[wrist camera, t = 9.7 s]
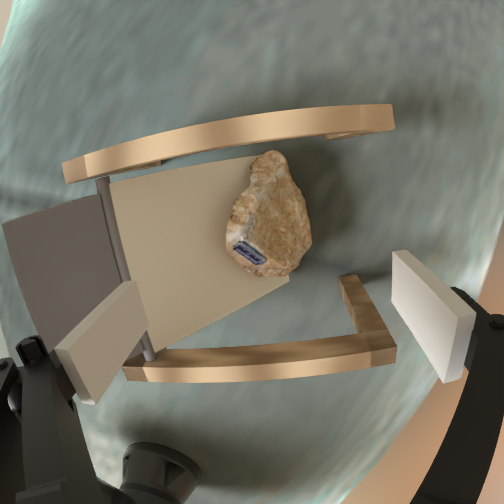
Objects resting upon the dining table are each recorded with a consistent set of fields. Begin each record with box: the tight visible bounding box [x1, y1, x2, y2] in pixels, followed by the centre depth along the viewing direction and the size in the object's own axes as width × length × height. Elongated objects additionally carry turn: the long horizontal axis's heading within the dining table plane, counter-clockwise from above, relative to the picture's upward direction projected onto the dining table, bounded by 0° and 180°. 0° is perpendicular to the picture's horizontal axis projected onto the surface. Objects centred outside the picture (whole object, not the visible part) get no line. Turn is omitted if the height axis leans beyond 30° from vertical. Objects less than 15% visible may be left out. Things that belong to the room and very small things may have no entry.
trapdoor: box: [2, 155, 289, 361], centre depth 25 cm, size 24×14×5 cm
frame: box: [62, 104, 397, 383], centre depth 25 cm, size 21×18×14 cm
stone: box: [226, 150, 312, 277], centre depth 27 cm, size 8×10×4 cm
